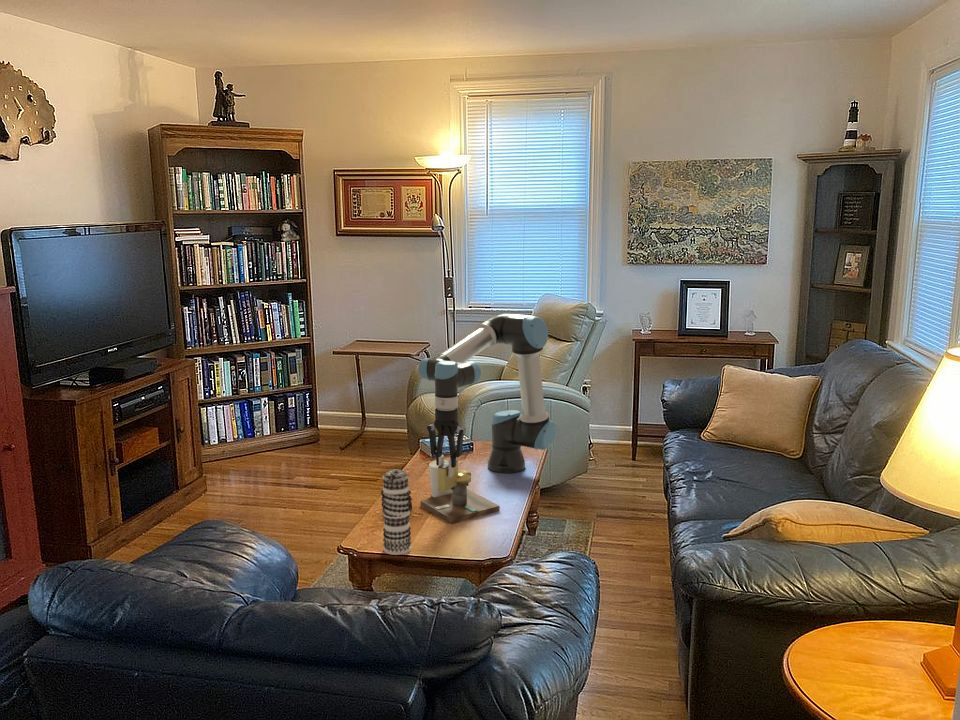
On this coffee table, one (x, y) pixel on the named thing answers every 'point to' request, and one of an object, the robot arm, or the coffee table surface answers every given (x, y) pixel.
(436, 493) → the candle holder
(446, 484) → the cap
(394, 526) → the decorative candle
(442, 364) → the robot arm
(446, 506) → the post plinth
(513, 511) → the coffee table surface
